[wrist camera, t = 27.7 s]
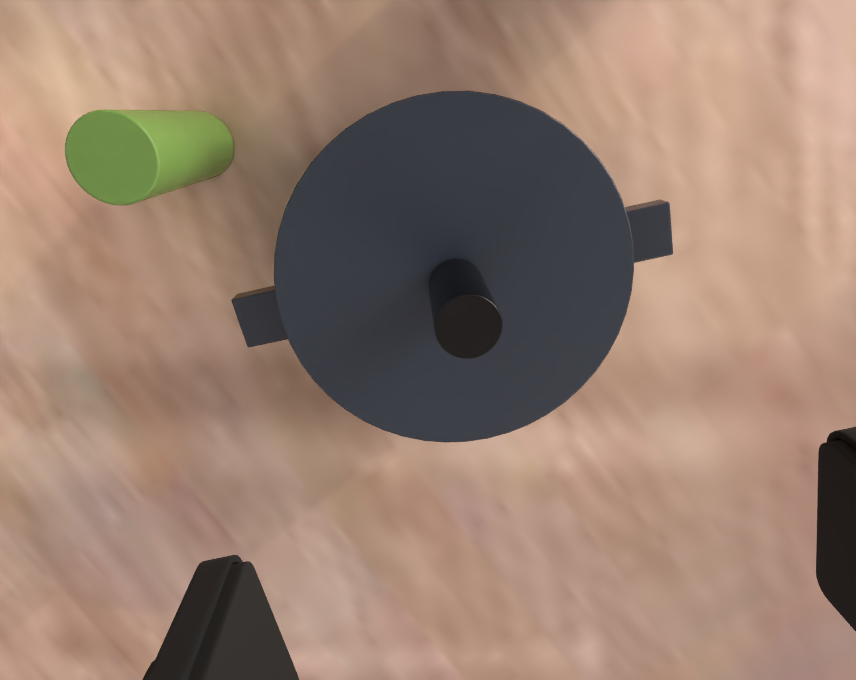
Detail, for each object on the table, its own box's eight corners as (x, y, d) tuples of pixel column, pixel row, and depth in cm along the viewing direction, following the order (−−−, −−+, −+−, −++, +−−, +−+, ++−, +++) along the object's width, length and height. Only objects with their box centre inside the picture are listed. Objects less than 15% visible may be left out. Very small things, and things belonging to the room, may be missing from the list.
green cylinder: (159, 118, 30) (47, 121, 20) (222, 104, 30) (138, 100, 20) (182, 183, 31) (86, 214, 21) (242, 170, 31) (172, 194, 21)
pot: (221, 154, 30) (176, 164, 24) (612, 63, 30) (666, 50, 23) (304, 405, 35) (283, 466, 29) (638, 333, 35) (688, 380, 29)
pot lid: (230, 139, 25) (172, 148, 18) (606, 51, 24) (676, 30, 18) (332, 459, 30) (314, 548, 24) (640, 394, 29) (703, 469, 23)
